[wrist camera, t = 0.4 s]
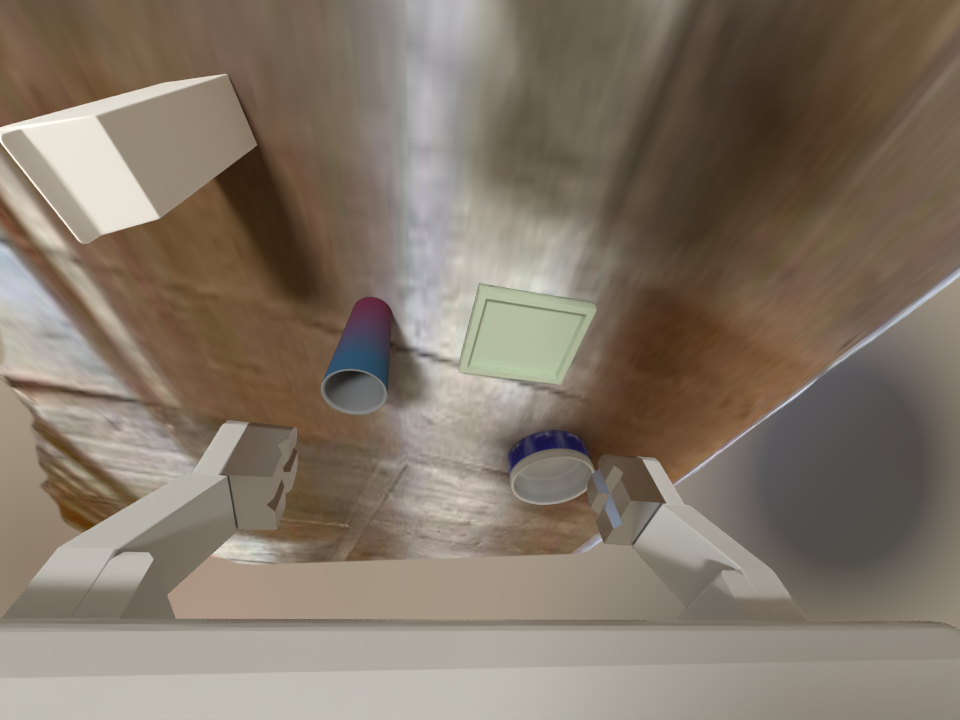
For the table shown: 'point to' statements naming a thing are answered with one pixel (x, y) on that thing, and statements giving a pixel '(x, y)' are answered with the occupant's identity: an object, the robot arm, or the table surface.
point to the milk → (131, 152)
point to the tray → (523, 334)
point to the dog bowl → (549, 467)
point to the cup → (361, 360)
